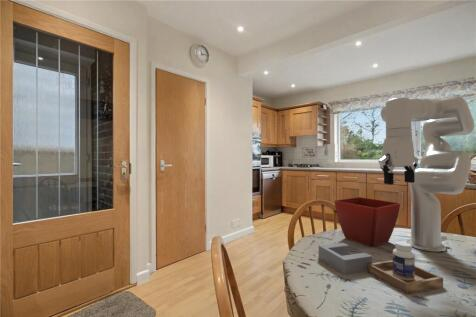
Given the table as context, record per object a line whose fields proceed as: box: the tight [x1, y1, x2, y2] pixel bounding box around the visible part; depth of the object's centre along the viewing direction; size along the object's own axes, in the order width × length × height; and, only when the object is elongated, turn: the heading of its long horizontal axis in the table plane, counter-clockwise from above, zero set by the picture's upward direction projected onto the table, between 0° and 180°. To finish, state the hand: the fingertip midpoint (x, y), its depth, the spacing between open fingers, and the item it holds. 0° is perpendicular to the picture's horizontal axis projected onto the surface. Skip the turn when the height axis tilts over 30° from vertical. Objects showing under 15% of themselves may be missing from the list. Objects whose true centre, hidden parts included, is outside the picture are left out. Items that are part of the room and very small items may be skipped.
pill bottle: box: [392, 241, 416, 281], centre depth 71 cm, size 5×5×10 cm
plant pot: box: [334, 196, 401, 247], centre depth 105 cm, size 19×19×17 cm
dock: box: [318, 242, 373, 276], centre depth 81 cm, size 10×13×4 cm
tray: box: [367, 259, 444, 295], centre depth 71 cm, size 13×13×2 cm
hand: (399, 183), depth 84 cm, fingers open, 9 cm apart
